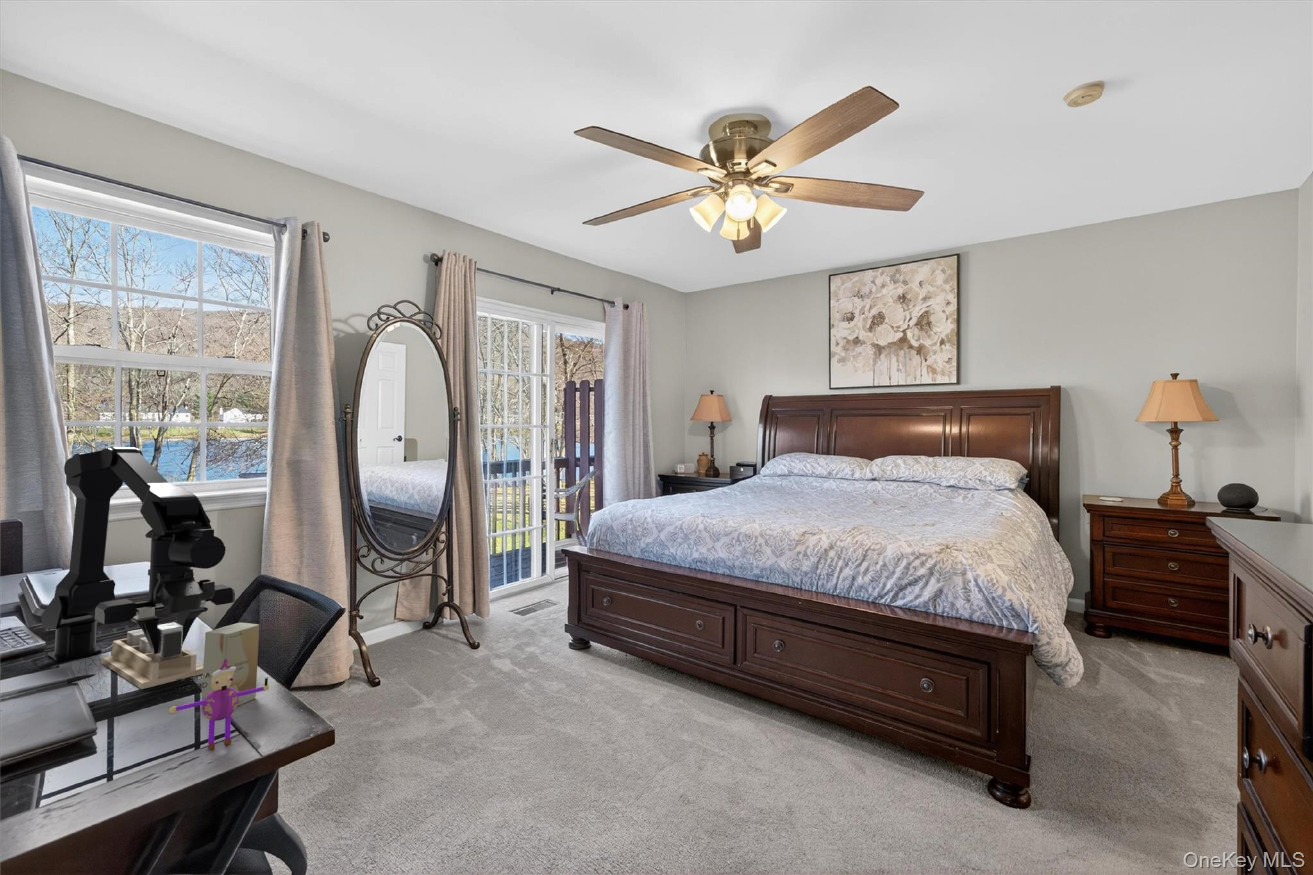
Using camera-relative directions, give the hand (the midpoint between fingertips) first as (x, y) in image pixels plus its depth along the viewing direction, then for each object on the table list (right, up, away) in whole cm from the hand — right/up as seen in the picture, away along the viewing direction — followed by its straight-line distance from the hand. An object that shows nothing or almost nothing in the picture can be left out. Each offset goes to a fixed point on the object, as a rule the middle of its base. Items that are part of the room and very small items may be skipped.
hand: (167, 650), depth 105 cm
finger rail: (-6, -5, +4) cm, 8 cm away
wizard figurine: (+28, -5, -24) cm, 37 cm away
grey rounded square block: (0, -2, 0) cm, 2 cm away
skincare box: (+19, -5, -11) cm, 23 cm away
